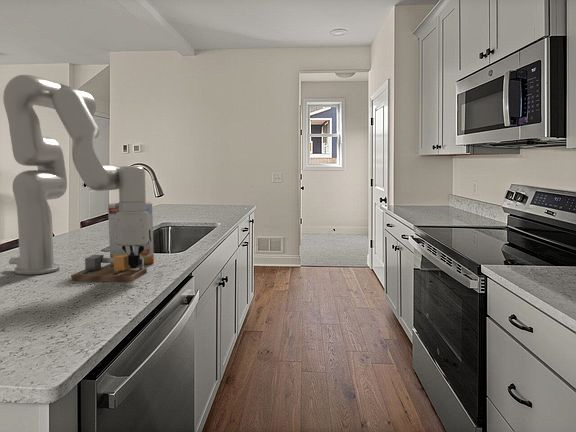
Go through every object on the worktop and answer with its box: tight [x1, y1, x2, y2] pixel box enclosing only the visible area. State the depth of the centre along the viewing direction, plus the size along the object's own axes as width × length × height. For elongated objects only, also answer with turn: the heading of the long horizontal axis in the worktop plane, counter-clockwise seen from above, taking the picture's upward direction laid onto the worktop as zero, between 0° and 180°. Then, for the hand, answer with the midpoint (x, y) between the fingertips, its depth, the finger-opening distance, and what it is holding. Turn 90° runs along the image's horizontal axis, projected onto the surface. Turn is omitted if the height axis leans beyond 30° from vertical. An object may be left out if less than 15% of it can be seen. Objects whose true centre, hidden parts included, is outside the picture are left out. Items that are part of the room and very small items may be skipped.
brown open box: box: [70, 266, 148, 283], centre depth 145 cm, size 18×12×2 cm, turn 86°
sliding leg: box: [113, 254, 130, 273], centre depth 146 cm, size 3×10×4 cm, turn 176°
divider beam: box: [84, 254, 145, 274], centre depth 146 cm, size 17×9×4 cm, turn 86°
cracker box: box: [107, 201, 155, 267], centre depth 163 cm, size 14×6×21 cm, turn 113°
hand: (134, 267), depth 146 cm, fingers closed
